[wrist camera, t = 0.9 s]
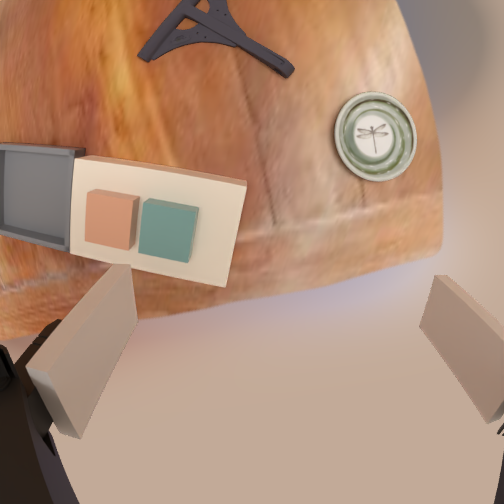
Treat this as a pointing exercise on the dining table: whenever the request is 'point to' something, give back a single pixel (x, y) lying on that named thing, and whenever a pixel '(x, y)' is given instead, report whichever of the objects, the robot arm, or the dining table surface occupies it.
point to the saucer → (375, 136)
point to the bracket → (208, 34)
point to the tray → (37, 192)
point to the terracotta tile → (111, 218)
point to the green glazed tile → (167, 229)
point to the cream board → (168, 189)
